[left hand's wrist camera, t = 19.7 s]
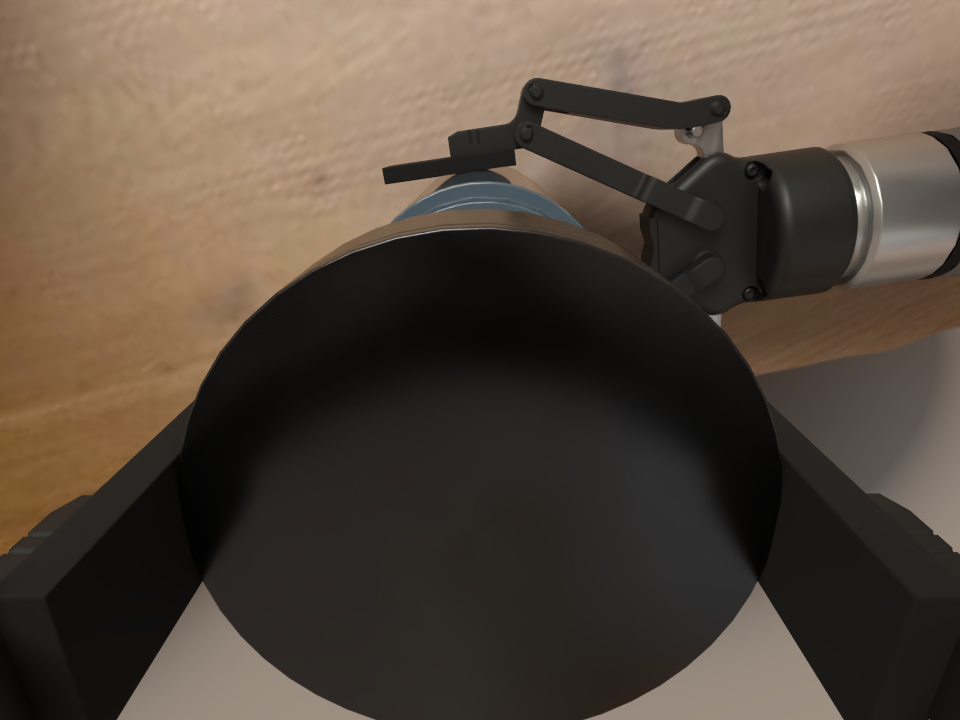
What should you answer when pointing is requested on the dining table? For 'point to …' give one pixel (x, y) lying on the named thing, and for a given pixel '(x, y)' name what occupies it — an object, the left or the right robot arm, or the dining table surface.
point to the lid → (480, 473)
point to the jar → (487, 195)
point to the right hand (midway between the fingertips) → (407, 278)
